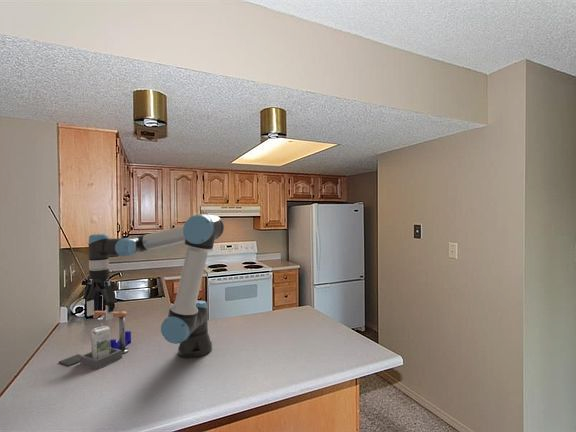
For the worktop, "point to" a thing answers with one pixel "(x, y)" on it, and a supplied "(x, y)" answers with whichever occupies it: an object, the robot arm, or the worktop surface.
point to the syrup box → (100, 342)
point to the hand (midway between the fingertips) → (99, 317)
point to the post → (122, 335)
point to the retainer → (103, 313)
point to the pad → (71, 360)
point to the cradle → (101, 362)
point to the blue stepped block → (117, 345)
